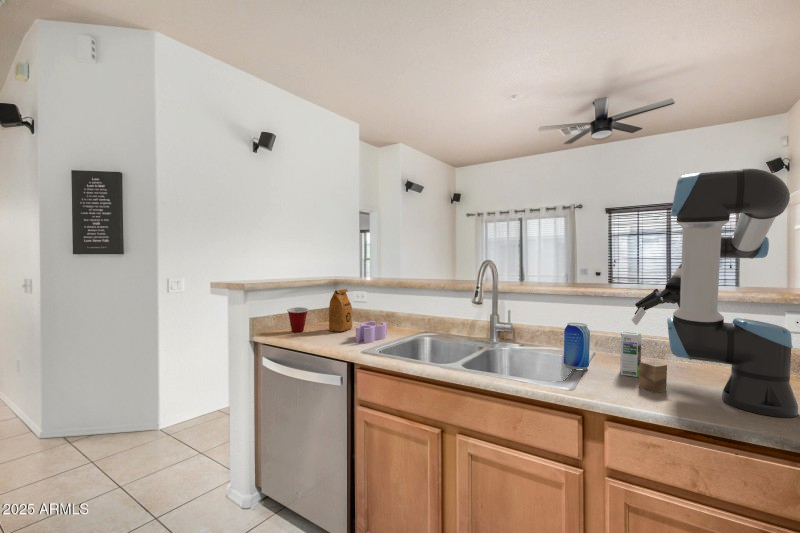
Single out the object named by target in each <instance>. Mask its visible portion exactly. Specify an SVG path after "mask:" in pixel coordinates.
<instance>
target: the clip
mask: <svg viewBox="0 0 800 533" xmlns="http://www.w3.org/2000/svg"><path fill="white" fill-rule="evenodd" d="M387 334H388V322H387V321H380V324H379V325H376V320H372V321H364V322H360V325H356V326H355V343H358V344H359V343H361V341H363V344H371V343H374V342H375V341H381V340H383V341H384V340H385V339H387Z"/></svg>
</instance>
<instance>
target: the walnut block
mask: <svg viewBox="0 0 800 533" xmlns="http://www.w3.org/2000/svg"><path fill="white" fill-rule="evenodd" d="M667 377H668V364H664V363H661V362H656V361H654V360H646V361H641V362H640V373H639V377H638V378H639V379H638V381H639V382H638V383H639V384H638V388H640V389H642V390H645V391H649V392H651V393H654V394H655V393H663V392H667V384H668V383H667V381H668V378H667Z"/></svg>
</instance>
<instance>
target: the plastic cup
mask: <svg viewBox="0 0 800 533" xmlns="http://www.w3.org/2000/svg"><path fill="white" fill-rule="evenodd" d="M286 311H287V314H288V317H289V325H290V328H291V329H290V330H291V333H294V334H295V333H296V334H298V333H304V329H305V325H306V320H307V315H308V311H309V308H307V307H301V306H300V307H299V306H298V307H297V306H296V307H290V308H288V309H286Z"/></svg>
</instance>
